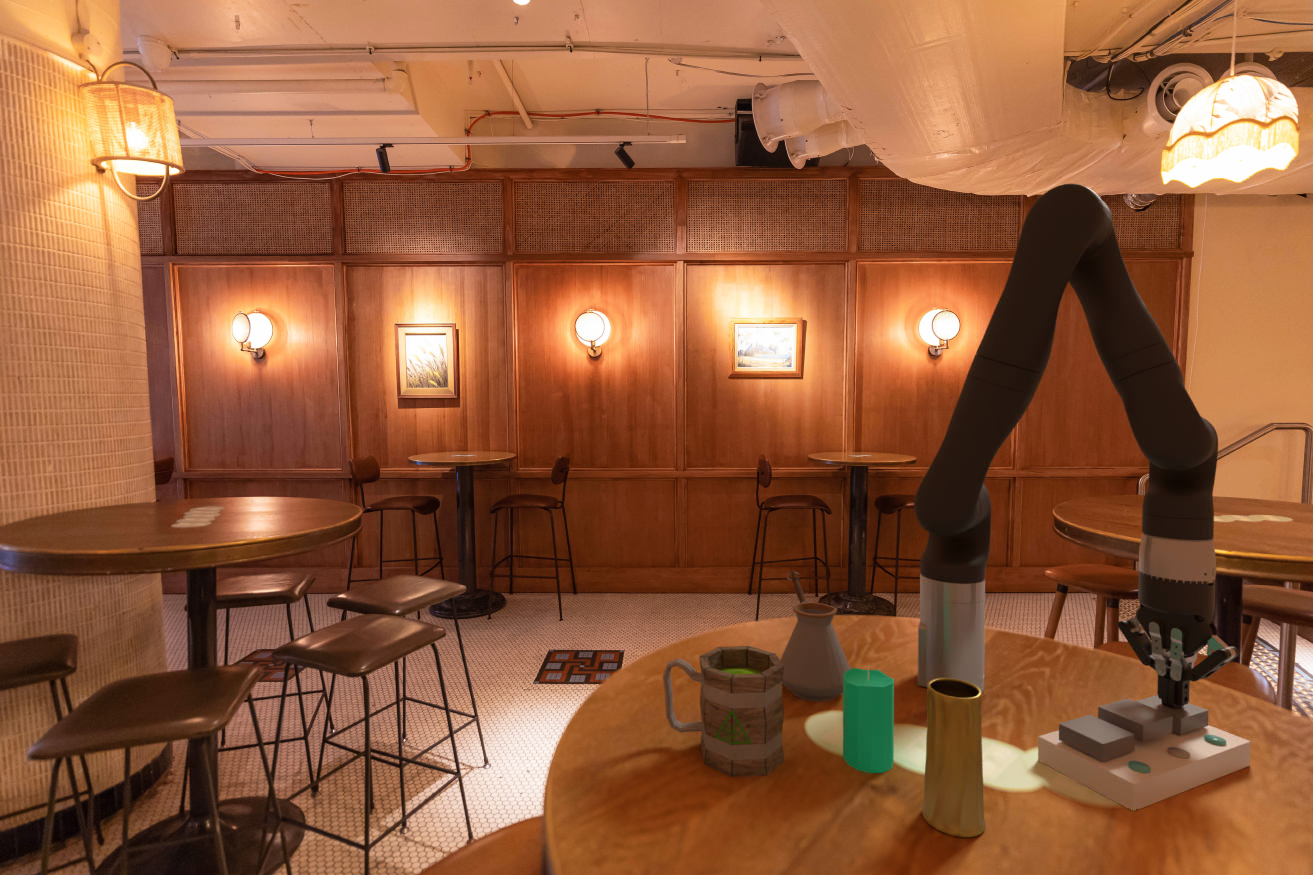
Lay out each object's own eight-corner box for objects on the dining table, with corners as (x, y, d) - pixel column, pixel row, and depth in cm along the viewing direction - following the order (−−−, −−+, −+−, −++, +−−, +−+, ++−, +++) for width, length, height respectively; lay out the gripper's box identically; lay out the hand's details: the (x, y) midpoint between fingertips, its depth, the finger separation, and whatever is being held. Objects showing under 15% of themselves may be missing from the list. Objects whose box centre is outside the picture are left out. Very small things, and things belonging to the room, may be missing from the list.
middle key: (1142, 741, 76) (1143, 725, 76) (1097, 722, 80) (1098, 706, 80) (1172, 732, 78) (1172, 715, 78) (1126, 713, 83) (1127, 698, 82)
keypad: (1133, 811, 69) (1133, 781, 69) (1038, 759, 79) (1038, 733, 79) (1249, 765, 78) (1250, 738, 77) (1150, 724, 88) (1150, 700, 88)
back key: (1180, 734, 78) (1181, 718, 78) (1135, 716, 83) (1135, 701, 83) (1207, 725, 81) (1208, 710, 81) (1162, 707, 85) (1162, 693, 85)
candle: (897, 775, 76) (898, 676, 76) (845, 770, 77) (845, 672, 77) (889, 749, 82) (890, 657, 82) (841, 744, 83) (841, 653, 83)
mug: (789, 739, 85) (789, 650, 84) (777, 785, 75) (777, 684, 74) (676, 721, 90) (675, 637, 89) (650, 762, 80) (649, 667, 79)
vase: (911, 803, 71) (912, 676, 70) (964, 800, 71) (965, 674, 71) (940, 840, 65) (941, 702, 64) (998, 836, 65) (1000, 699, 65)
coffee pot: (863, 706, 94) (863, 605, 93) (785, 708, 94) (784, 606, 93) (824, 651, 115) (824, 568, 114) (760, 652, 115) (760, 569, 114)
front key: (1102, 761, 73) (1103, 744, 73) (1058, 739, 78) (1059, 723, 78) (1134, 750, 75) (1134, 733, 75) (1089, 730, 80) (1089, 714, 80)
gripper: (1102, 562, 86) (1100, 690, 86) (1221, 587, 73) (1217, 735, 74) (1138, 557, 89) (1136, 680, 89) (1258, 580, 76) (1254, 722, 77)
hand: (1173, 705), depth 82 cm, fingers closed
